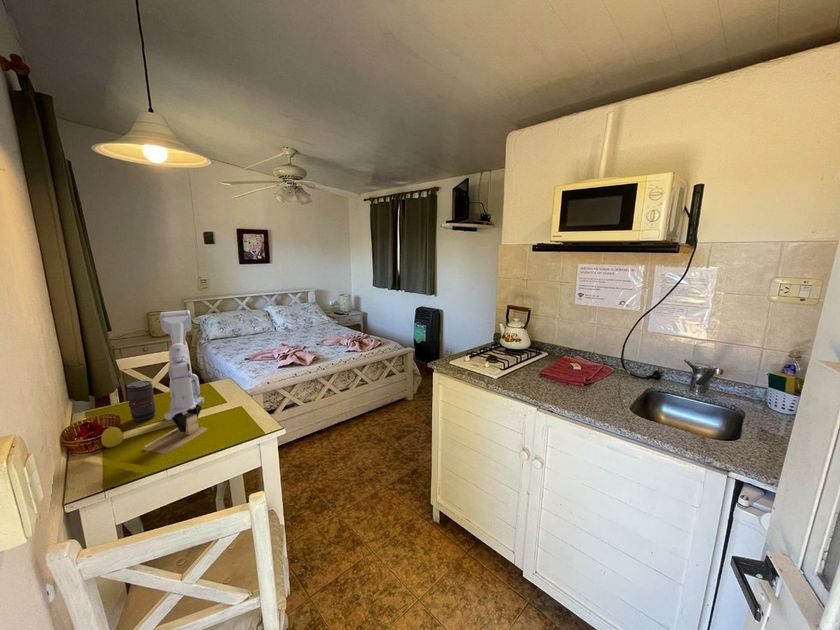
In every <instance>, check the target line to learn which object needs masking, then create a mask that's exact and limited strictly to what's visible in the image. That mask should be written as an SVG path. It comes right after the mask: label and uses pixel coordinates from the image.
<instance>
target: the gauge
mask: <svg viewBox="0 0 840 630" xmlns="http://www.w3.org/2000/svg"><path fill="white" fill-rule="evenodd" d="M183 415H187V416H186V432H180V431H179V429H178V433H182V434H188V435H190V434H192V433H193V432H195V431H197V430H199V427H200V426H199V420H198V419H197V414H190V413H185V414H183Z"/></svg>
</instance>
